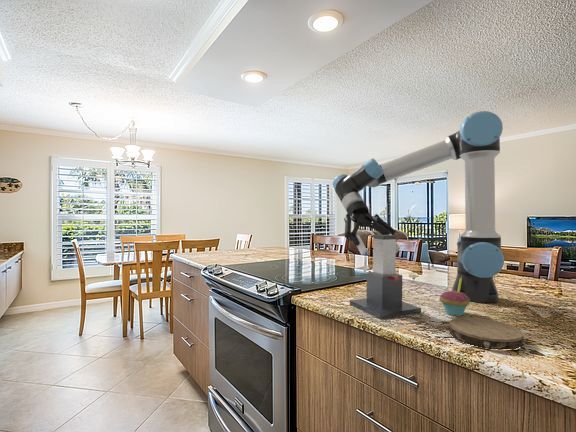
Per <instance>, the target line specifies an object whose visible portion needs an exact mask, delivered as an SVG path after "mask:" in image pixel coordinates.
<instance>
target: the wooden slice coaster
mask: <svg viewBox="0 0 576 432" xmlns="http://www.w3.org/2000/svg"><path fill="white" fill-rule="evenodd" d="M450 334H451V335H452V336H453V337H454V338H456V339H457V340H456V339H455V340H456V341H458V340H459V341H461V342H460V343H462V342H464V343H467V344H470V345H474V346H478V347H482V348H489V349H516V348H519V347H522V346H523V347H524V333H523V331H522V330H520V328H517V327H516V326H514V325H511V324H508V323H505V322H501V321H498V320H494V319H490V318H484V317H483V318H482V317H473V316H472V317H470V316H465V317H463V316H459V317H455V318H452V319H450V320H449V335H450ZM451 335H450V336H451ZM452 336H451V337H452ZM453 337H452V338H453ZM454 338H453V339H454ZM459 341H458V342H459ZM464 343H463V344H464ZM467 344H466V345H467ZM470 345H469V346H470ZM523 347H522V348H523Z"/></svg>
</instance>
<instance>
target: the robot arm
mask: <svg viewBox="0 0 576 432" xmlns="http://www.w3.org/2000/svg"><path fill="white" fill-rule="evenodd" d="M503 127H504V126H503V122H502V119H501V118H500V116H498V115H497V114H495V113H494V112H492V111H488V110H487V111H486V110H481V111H475V112H474V113H473V112H472V113H471V114H469V115H468V116H467V117H466V118H465V119H463V121H462V122H461V125H460V127H459V130H458V131H456V132H455V133H453V134H450V135H448V136H446V137H445V139H444V140H442V141H440V142H437V143H433V144H432V145H429V146H426V147H423V148H421V149H418V150H416V151H413V152H410V153H408V154H404V155H403V156H400V157H396V158H395V159H393V160H390V161H387V162H384V163H382V164H379V163H378V161H377V160H376V159H375V158H370V159H369V160H367V161H365V162H364V163H363V164H362V165H360V166H359V167H358V168H357V169H355V170H354V171H353V172H351V173H350V174H349V175H348V174H344V173H343V174H342V173H341V174H340V175H337V176H336V177H335V178H334V179H333V181H332V187H333V189H334V192H335V194H336V195H337V197H338V198H339V201H340V202H341V204H342V206H343V208H344V209H345V211H346V215H345V216H344V218H343V220H344V223H345V224H344V225H345V226H344V238H346V239H348V241H350V242H353V245H354V246H356V248H357V250H358V251H359V253H360V255H361V256H364V255H365V253H366V252H367V251H368V249H367V248H366V245H365V243H364V242H363V240H362V238H361V237H360V234H357V232H358V230H359V228H360V227H361V228H369V229H373V230H375V231H376V232H378V233H380V235H396V232H397V230H396V229H394V228H393V227H392V226H390V225H389V224H388V223H387V222H386V221H385V220H384V219H382V217H380V216H379V214H378V213H375V214H374V215H372V214H370V210H369V207H368V205H367V203H366V202H365V200H364V198H363V197H362V195H361V194H360V192H361V191H362V190H363V189H365V188H366V187H369V188H376V187H379V186H380V185H382V184H384V183H387V182H389V181H392V180H395V179H398V178H400V177H405V176H407V175H409V174H411V173H415V172H418V171H421V170H423V169H427V168H429V167H432V166H434V165H438V164H441V163H444V162H447V161H449V160H454V161H457V160H460V159H462V160H463V161H464V203H465V206H464V208H465V209H464V212H465V216H464V217H465V219H464V221H465V223H464V224H465V230H464V231H463V232H462V233H461V234H460V236H458V237H457V243H456V246H457V250H456V251H457V253H456V254H457V255H456V256H457V258H456V260H457V262H456V263H457V264H456V265H457V266H456V269H457V270H456V272H457V273H456V277H455V280H454V283H453V285H452V289H451V291H458V285H459V279H460V278H461V276H462V282H461V288H460V292H462V293H464V294H466V295H467V296H468V297H469V298H470V302H473V303H485V304H486V303H488V304H489V303H490V304H491V303H496V302H499V299H500V298H499V292H498V289H497V285H496V282H495V280H494V276H496V275H498V274H499V273H500V272H501V270H503V267H504V265H505V257H504V253H503V251H502V235H500V234H499V233H498V232H497V231H496V184H495V183H496V182H495V181H496V180H495V179H496V176H495V171H496V170H495V169H496V168H495V167H496V166H495V158H496V157H497V156H498V155H500V153H501V143H500V142H501V138H500V137H501V135H502V134H503V129H504V128H503ZM352 222H353V223H354V226H353V229H352ZM397 241H398V240H396V254H398V252H399V251H400V250H401V247H400V245H399V244H398V242H397Z"/></svg>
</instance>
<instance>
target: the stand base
mask: <svg viewBox="0 0 576 432" xmlns="http://www.w3.org/2000/svg"><path fill="white" fill-rule="evenodd" d="M349 306H352V307H354V308H356V309H357V310H361V311H362V312H365V313H366V314H367V315H368V314H369V315H371V316H373V317H374V318H377V319H379V318H380V319H379V320H381V319H382V318H383V319H387V318H389V317H390V318H394V317H403V316H408V315H414V314H420V313H422V308H421V307H420V306H417V305H414V304H411V303H408V302H405V301H403V274H400V273H397V272H396V273H395V275H388V276H381V275H378V274H374V273H373V271H370V272H366V298H360V299H357V298H356V299H351V300H349Z"/></svg>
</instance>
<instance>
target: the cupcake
mask: <svg viewBox="0 0 576 432" xmlns="http://www.w3.org/2000/svg"><path fill="white" fill-rule="evenodd" d="M461 282H462V276H461V278H460V279H459V285H458V291H452V290H447V291H445V292H442V293H441V294H440V295H439V298H438V301H439V302H441V303H442V305H443V306H444V310H445V313H446V314H447V315H449V314H450V316H454V315H456V316H455V317H462V316H463V315H464V313H465V311H466V309H467V306H469V305H471V301H470V298H469V297H468V296H467V295H466V294H464V293H462V292H460V288H461ZM461 315H462V316H461Z"/></svg>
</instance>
